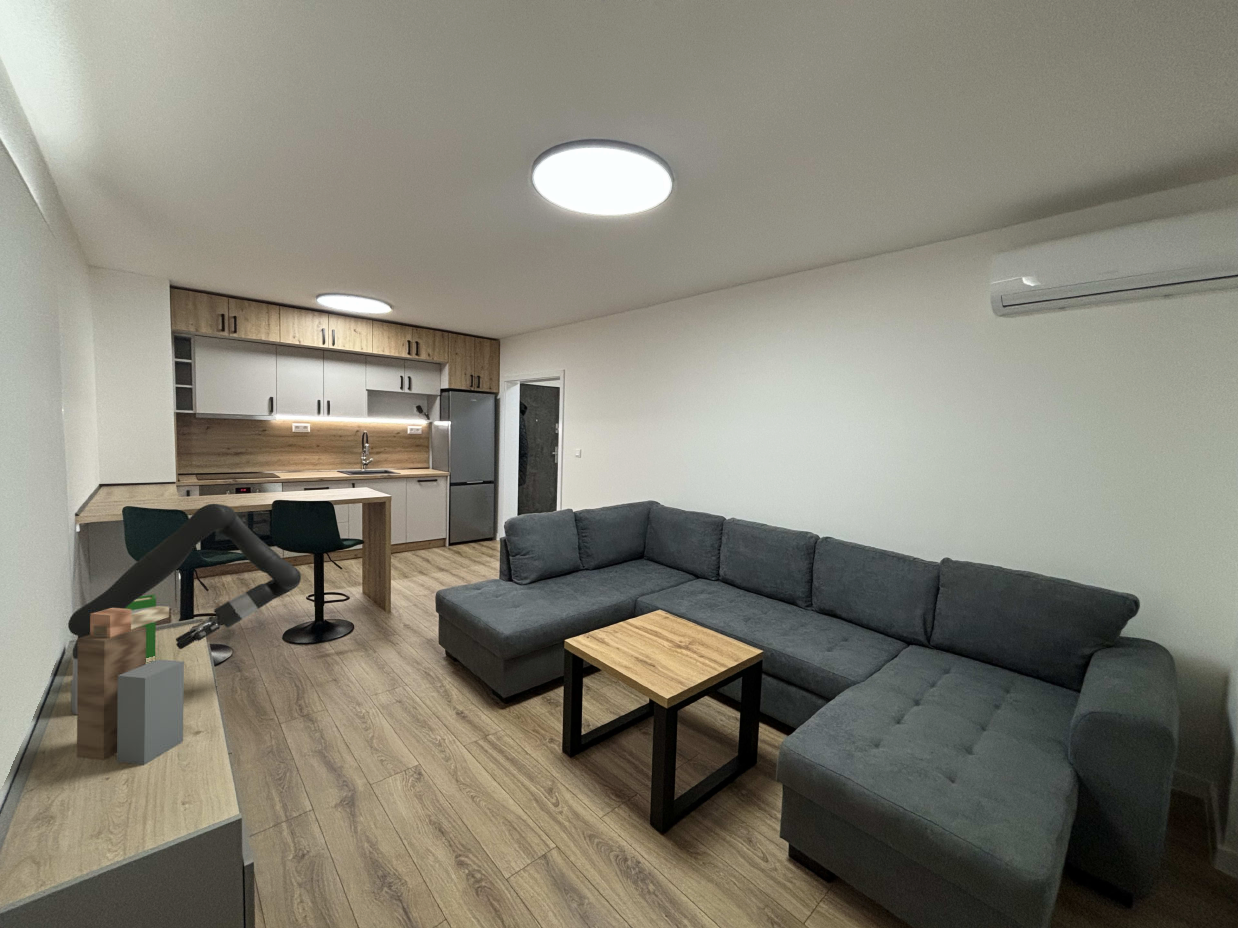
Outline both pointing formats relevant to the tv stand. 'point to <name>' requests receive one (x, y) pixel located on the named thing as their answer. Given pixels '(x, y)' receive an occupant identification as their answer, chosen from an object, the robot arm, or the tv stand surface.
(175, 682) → the tall grey block
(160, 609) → the two-tone block
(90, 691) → the tall stand
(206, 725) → the tv stand surface
